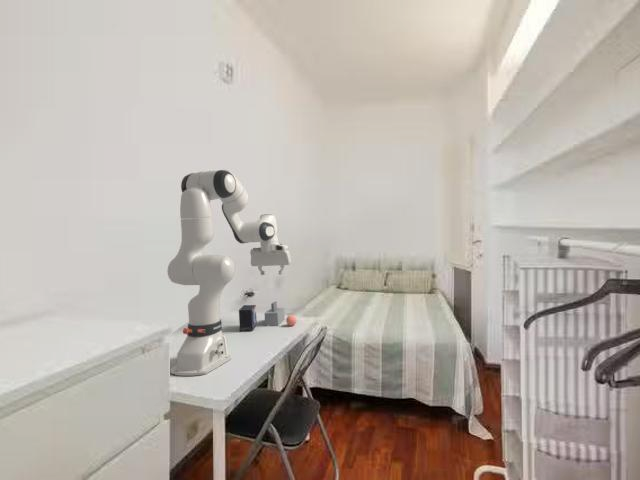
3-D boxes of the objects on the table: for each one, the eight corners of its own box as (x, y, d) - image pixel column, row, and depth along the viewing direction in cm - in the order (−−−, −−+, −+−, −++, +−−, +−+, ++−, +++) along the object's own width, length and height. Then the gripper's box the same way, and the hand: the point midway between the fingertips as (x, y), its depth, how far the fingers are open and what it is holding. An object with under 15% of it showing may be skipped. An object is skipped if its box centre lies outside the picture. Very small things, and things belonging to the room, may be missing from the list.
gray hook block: (278, 325, 178) (276, 305, 178) (265, 325, 180) (264, 305, 179) (284, 319, 189) (283, 300, 189) (272, 319, 190) (271, 300, 190)
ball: (295, 326, 174) (294, 316, 174) (285, 326, 175) (284, 316, 175) (297, 324, 179) (297, 314, 179) (288, 324, 180) (287, 314, 180)
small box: (253, 331, 171) (251, 309, 171) (239, 332, 171) (238, 310, 171) (257, 325, 182) (256, 304, 181) (244, 325, 182) (243, 305, 181)
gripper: (247, 248, 181) (249, 276, 182) (287, 246, 177) (289, 274, 178) (252, 247, 188) (254, 274, 188) (290, 245, 183) (292, 272, 184)
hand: (271, 274), depth 183 cm, fingers open, 8 cm apart
